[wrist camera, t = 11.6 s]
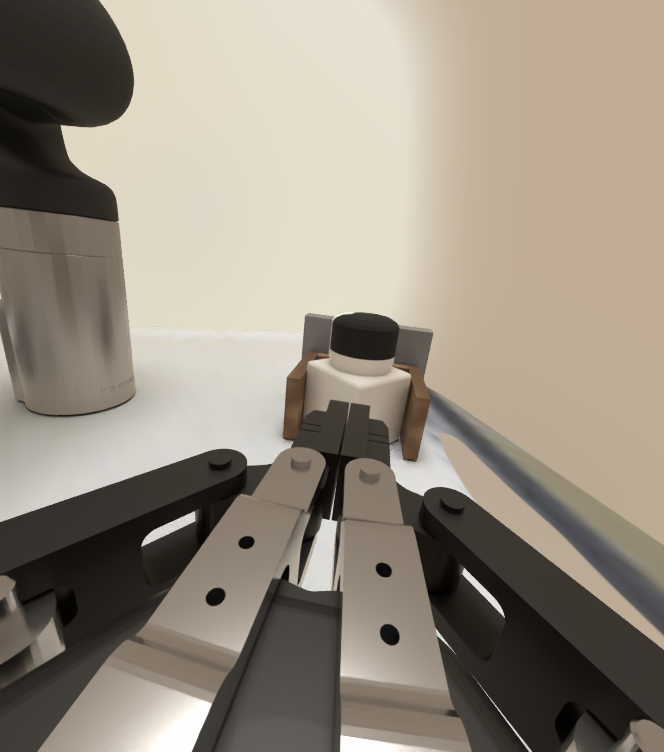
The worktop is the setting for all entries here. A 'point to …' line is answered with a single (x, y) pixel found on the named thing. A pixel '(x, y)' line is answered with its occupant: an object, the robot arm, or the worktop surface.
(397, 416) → the medicine bottle
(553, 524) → the worktop surface
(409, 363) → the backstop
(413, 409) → the caddy
